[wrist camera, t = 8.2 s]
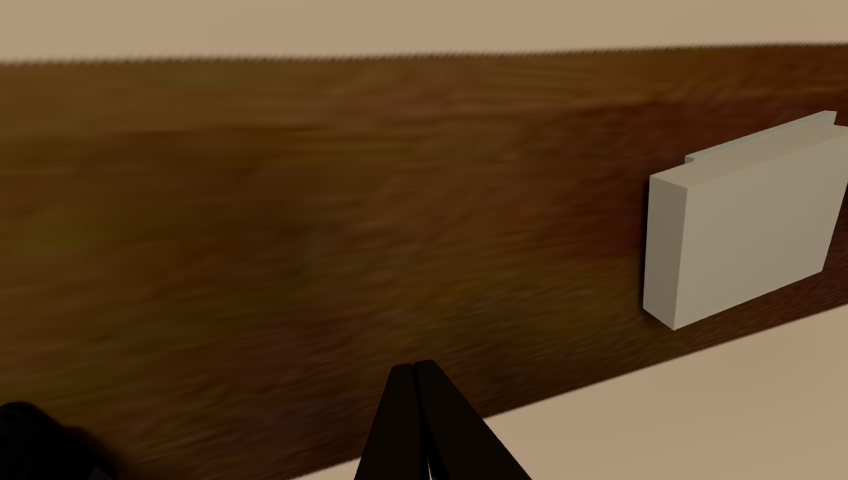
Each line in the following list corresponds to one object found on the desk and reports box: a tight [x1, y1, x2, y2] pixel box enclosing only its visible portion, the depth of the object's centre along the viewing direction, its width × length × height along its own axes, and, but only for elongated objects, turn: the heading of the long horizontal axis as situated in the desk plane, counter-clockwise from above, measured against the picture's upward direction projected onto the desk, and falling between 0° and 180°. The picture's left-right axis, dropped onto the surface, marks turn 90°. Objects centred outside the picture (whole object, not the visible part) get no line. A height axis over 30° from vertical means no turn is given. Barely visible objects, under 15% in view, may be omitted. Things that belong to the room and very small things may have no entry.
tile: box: [643, 122, 848, 330], centre depth 24 cm, size 3×9×11 cm
